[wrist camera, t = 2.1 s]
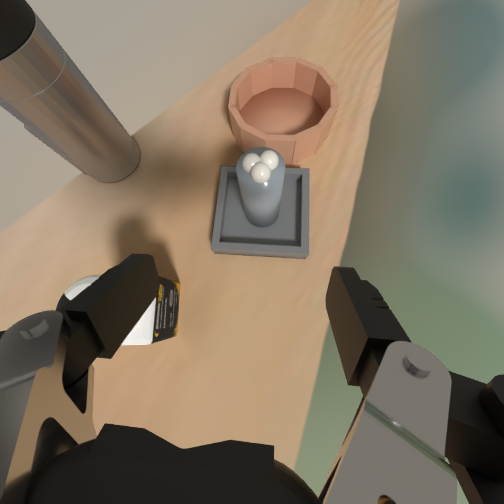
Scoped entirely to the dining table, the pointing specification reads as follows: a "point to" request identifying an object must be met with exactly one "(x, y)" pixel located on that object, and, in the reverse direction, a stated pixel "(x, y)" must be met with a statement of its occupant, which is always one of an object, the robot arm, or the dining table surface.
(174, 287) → the medicine bottle
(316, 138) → the bowl
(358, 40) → the dining table surface
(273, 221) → the pebble cup
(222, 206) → the parts tray
